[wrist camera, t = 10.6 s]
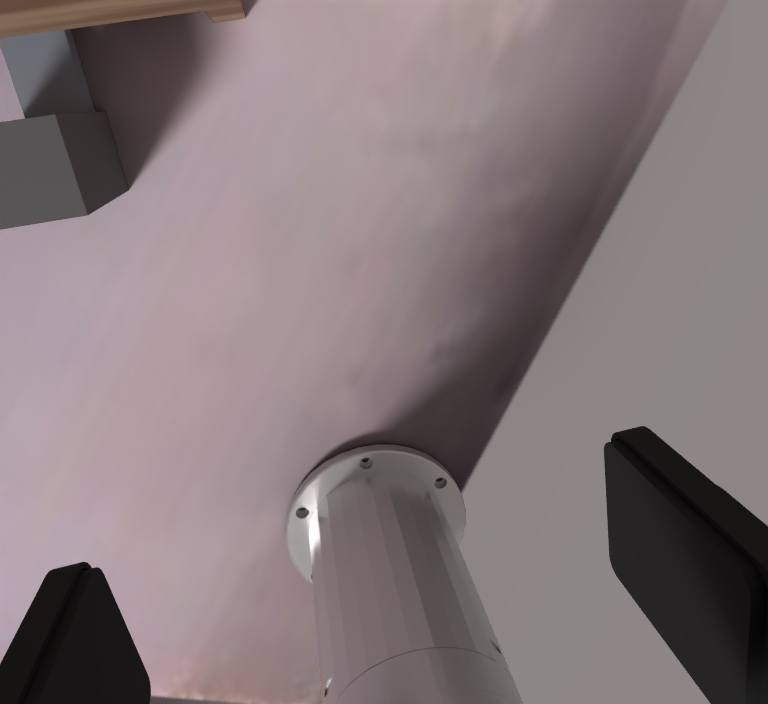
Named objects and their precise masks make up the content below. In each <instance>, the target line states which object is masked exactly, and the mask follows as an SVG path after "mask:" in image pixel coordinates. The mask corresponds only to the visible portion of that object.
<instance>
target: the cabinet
mask: <svg viewBox="0 0 768 704" xmlns="http://www.w3.org/2000/svg"><path fill="white" fill-rule="evenodd" d="M197 11H205V12H206V14H207V15H208V16H209V17H210V19H211V20H212V21H213V22H221V21H228V20H235V19H243V18H245V13H244V8H243V4H242V0H0V38H7V37H15V36H22V35H29V34H36V33H44V32H51V31H58V30H66V29H73V28H80V27H88V26H95V25H102V24H110V23H117V22H124V21H132V20H139V19H146V18H154V17H161V16H168V15H175V14H183V13H190V12H197Z"/></svg>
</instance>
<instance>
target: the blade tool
mask: <svg viewBox="0 0 768 704" xmlns="http://www.w3.org/2000/svg"><path fill="white" fill-rule="evenodd" d="M0 46H1V49H2V52H3V55H4V58H5V60H6V63H7V66H8V69H9V72H10V75H11V78H12V81H13V84H14V87H15V90H16V92H17V95H18V98H19V101H20V104H21V107H22V110H23V113H24V116H25V119H20V120H13V121H7V122H0V229H6V228H12V227H18V226H25V225H31V224H37V223H43V222H49V221H55V220H61V219H68V218H74V217H80V216H86V215H89V214H91V213H92V212H94V211H95V210H97V209H99V208H100V207H102V206H104V205H105V204H107V203H109V202H110V201H112V200H114V199H115V198H117V197H119V196H120V195H122V194H123V193H125V192H127V191H128V190H129V189H128V185H127V182H126V178H125V175H124V172H123V168H122V165H121V161H120V158H119V155H118V151H117V148H116V144H115V141H114V138H113V134H112V131H111V127H110V124H109V121H108V117H107V114H106V111H102V112H95V108H94V105H93V102H92V98H91V95H90V92H89V88H88V85H87V82H86V78H85V75H84V72H83V68H82V65H81V62H80V58H79V55H78V52H77V48H76V45H75V42H74V38H73V35H72V32H71V29H66V30H58V31H51V32H44V33H36V34H29V35H22V36H15V37H7V38H0Z"/></svg>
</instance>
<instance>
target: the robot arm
mask: <svg viewBox="0 0 768 704" xmlns="http://www.w3.org/2000/svg"><path fill="white" fill-rule="evenodd" d="M364 458H366V459H364ZM604 459H605V479H606V497H607V517H608V537H609V556H610V561H611V565H612V568H613V570H614V572H615V574H616V576H617V577H618V579H619V580H620V581H621V583H622V584H623V585H624V587H625V588H626V589H627V591H628V592H629V593H630V595H631V596H632V598H633V599H634V600H635V602H636V603H637V604H638V606H639V607H640V608H641V610H642V611H643V612H644V614H645V615H646V617H647V618H648V619H649V621H650V622H651V623H652V624H653V626H654V627H655V628H656V630H657V631H658V633H659V634H660V635H661V637H662V638H663V640H664V641H665V642H666V643H667V645H668V646H669V648H670V649H671V650H672V652H673V653H674V654H675V656H676V657H677V658H678V660H679V661H680V663H681V664H682V665H683V667H684V668H685V669H686V671H687V672H688V673H689V675H690V676H691V677H692V679H693V680H694V682H695V683H696V684H697V685H698V687H699V688H700V690H701V691H702V692H703V694H704V695H705V696H706V698H707V699H708V700H709V702H710V703H711V704H768V526H767V525H765V524H764V523H763V522H762V521H761V520H759V519H758V518H757V517H756V516H755V515H753V514H752V513H751V512H750V511H749V510H747V509H746V508H745V507H743V505H741V504H740V503H739V502H738V501H737V500H735V499H734V498H733V497H732V496H731V495H729V494H728V493H727V492H726V491H725V490H723V489H722V488H720V487H719V486H717V485H715V484H714V483H713V482H712V481H711V480H710V479H708V478H707V477H706V476H705V475H704V474H702V473H701V472H700V471H699V470H698V469H696V468H695V467H694V466H693V465H692V464H690V463H689V462H688V461H687V460H685V459H684V458H683V457H682V456H681V455H680V454H678V453H677V452H676V451H675V450H674V449H672V448H671V447H670V446H669V445H668V444H666V443H665V442H664V441H663V440H662V439H660V438H659V437H658V436H657V435H656V434H655V433H653V432H652V431H651V430H650V429H648V428H646V427H645V426H641V427H637V428H632V429H628V430H624V431H620V432H616V433H614V434H613V436H612V438H611V442H608V443H606V444H605V446H604ZM465 511H466V510H465V506H464V501H463V497H462V494H461V492H460V490H459V488H458V486H457V483H456V482H455V480H454V479H453V477H452V476H451V474H450V473H449V471H448V470H447V469H446V468H445V467H444V466H443V465H442V464H441V463H440V462H438V461H437V460H435V459H434V458H432V457H431V456H429V455H427V454H426V453H423V452H421V451H418V450H415V449H413V448H410V447H405V446H399V445H386V444H376V445H370V446H364V447H358V448H355V449H352V450H349V451H346V452H343V453H340V454H339V455H337V456H335V457H333V458H331V459H329V460H327V461H326V462H324V463H323V464H322V465H320V466H319V467H318V468H316V469H315V470H314V471H313V472H311V473H310V475H309V476H308V477H307V478H306V479H305V480H304V481H303V482H302V484H301V485H300V486H299V488H298V490H297V491H296V493H295V495H294V496H293V498H292V500H291V503H290V506H289V509H288V512H287V519H286V543H287V547H288V551H289V555H290V558H291V559H292V561H293V563H294V565H295V567H296V569H297V570H298V571H299V572H300V573H301V575H302V576H303V577H304V578H305V579H306V580H307V581H308V582H310V583H311V584H312V585H313V591H314V604H315V617H316V630H317V643H318V656H319V669H320V682H321V695H322V704H523V701H522V699H521V697H520V694H519V692H518V689H517V687H516V685H515V682H514V679H513V677H512V675H511V672H510V670H509V667H508V665H507V662H506V660H505V657H504V655H503V653H502V650H501V648H500V645H499V643H498V641H497V638H496V636H495V633H494V631H493V628H492V626H491V624H490V621H489V618H488V616H487V614H486V611H485V609H484V606H483V604H482V601H481V599H480V597H479V594H478V592H477V589H476V587H475V584H474V582H473V580H472V577H471V575H470V572H469V570H468V568H467V565H466V563H465V560H464V558H463V555H462V553H461V551H460V548H459V544H460V542H461V540H462V537H463V532H464V528H465ZM150 696H151V688H150V680H149V677H148V674H147V672H146V670H145V667H144V665H143V663H142V660H141V658H140V656H139V653H138V651H137V649H136V647H135V644H134V642H133V640H132V637H131V635H130V633H129V631H128V628H127V626H126V624H125V621H124V619H123V617H122V615H121V612H120V610H119V608H118V605H117V603H116V601H115V599H114V596H113V594H112V592H111V589H110V587H109V585H108V583H107V580H106V578H105V576H104V574H103V572H102V570H101V569H100V568H97V567H96V568H91V566H90V565H89V564H88V563H86V562H81V563H77V564H73V565H69V566H65V567H61V568H57V569H53V570H51V571H49V572H48V574H47V575H46V577H45V578H44V580H43V582H42V584H41V586H40V588H39V590H38V592H37V594H36V596H35V598H34V600H33V602H32V604H31V606H30V608H29V609H28V611H27V613H26V615H25V617H24V619H23V621H22V623H21V625H20V627H19V629H18V631H17V633H16V635H15V637H14V639H13V640H12V642H11V644H10V646H9V648H8V650H7V652H6V654H5V656H4V658H3V660H2V662H1V664H0V704H149V702H150Z"/></svg>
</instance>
